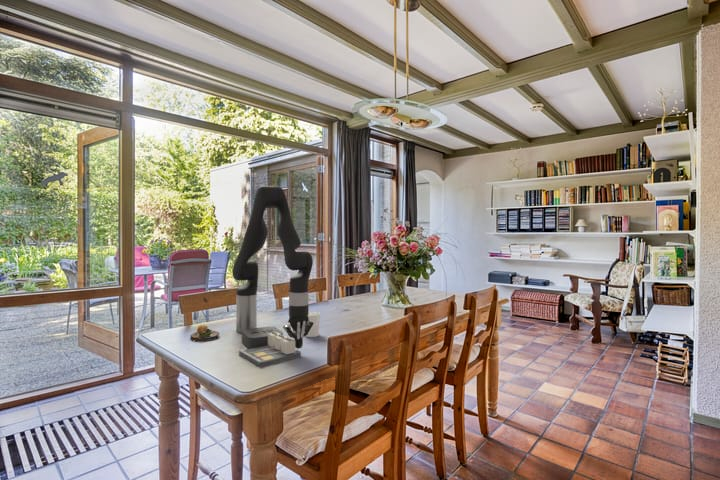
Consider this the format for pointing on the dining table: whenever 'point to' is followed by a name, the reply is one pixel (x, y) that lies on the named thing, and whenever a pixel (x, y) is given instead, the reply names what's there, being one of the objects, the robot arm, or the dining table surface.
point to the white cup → (314, 329)
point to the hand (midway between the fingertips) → (298, 347)
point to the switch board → (267, 355)
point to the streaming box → (257, 336)
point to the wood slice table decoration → (204, 334)
